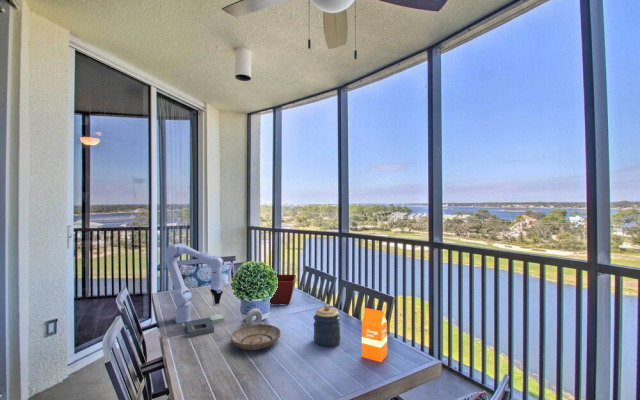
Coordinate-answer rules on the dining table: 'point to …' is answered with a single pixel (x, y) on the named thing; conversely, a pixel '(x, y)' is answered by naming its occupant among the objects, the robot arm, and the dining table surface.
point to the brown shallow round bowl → (255, 336)
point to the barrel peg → (214, 302)
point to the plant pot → (284, 289)
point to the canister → (326, 327)
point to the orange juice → (374, 335)
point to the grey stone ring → (251, 314)
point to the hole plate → (199, 327)
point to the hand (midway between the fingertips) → (216, 302)
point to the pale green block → (216, 318)
